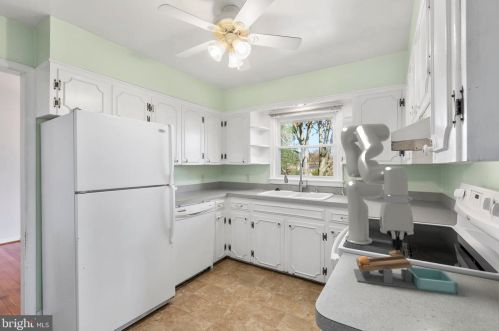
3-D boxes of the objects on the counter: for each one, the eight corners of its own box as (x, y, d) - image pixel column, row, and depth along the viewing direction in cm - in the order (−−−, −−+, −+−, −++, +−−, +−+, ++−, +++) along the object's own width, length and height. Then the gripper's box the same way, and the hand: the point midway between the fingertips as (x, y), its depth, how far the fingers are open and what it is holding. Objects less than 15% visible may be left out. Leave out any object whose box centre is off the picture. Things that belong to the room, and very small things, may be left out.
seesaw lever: (355, 260, 92) (353, 251, 92) (400, 255, 87) (398, 246, 87) (360, 274, 79) (358, 264, 79) (414, 270, 75) (411, 259, 75)
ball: (363, 265, 83) (356, 258, 84) (370, 259, 83) (363, 252, 83) (364, 269, 80) (358, 261, 81) (372, 263, 79) (365, 256, 80)
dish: (406, 275, 82) (406, 266, 82) (441, 279, 79) (441, 269, 79) (417, 289, 73) (417, 279, 73) (457, 293, 70) (457, 283, 70)
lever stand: (353, 270, 87) (353, 257, 87) (406, 275, 82) (406, 262, 82) (357, 281, 78) (357, 267, 78) (417, 288, 73) (416, 273, 73)
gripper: (415, 198, 88) (416, 247, 88) (371, 197, 92) (372, 244, 92) (423, 201, 81) (424, 254, 80) (375, 200, 85) (376, 250, 85)
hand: (396, 249), depth 86 cm, fingers closed
